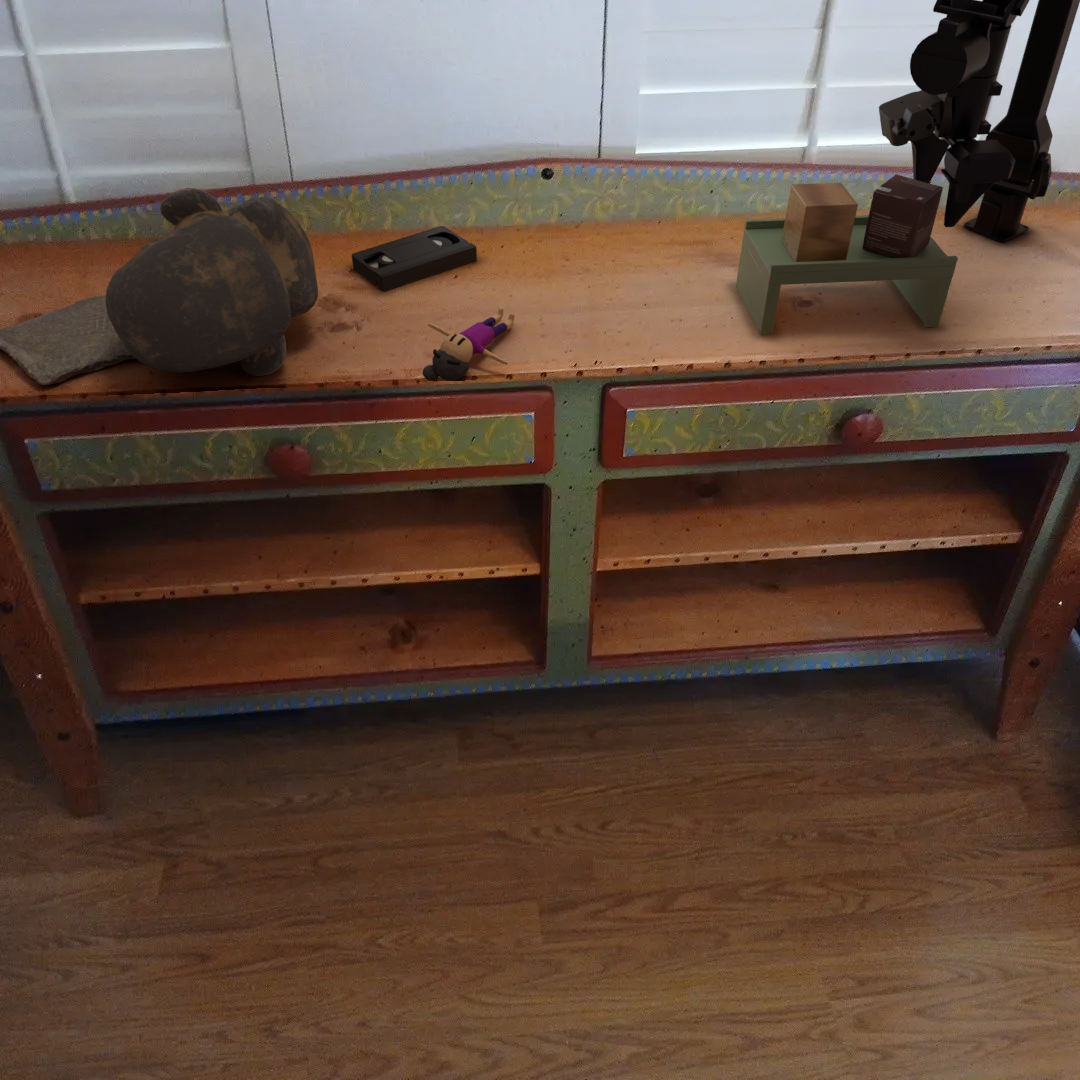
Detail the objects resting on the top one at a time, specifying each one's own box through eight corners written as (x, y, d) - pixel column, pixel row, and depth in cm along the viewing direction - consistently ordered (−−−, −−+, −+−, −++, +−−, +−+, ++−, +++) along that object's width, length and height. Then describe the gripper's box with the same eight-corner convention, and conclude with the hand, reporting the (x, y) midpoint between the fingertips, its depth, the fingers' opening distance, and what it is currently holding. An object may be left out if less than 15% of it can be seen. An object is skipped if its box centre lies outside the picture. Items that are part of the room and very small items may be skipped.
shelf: (902, 279, 138) (919, 213, 132) (938, 326, 129) (958, 257, 123) (735, 286, 136) (745, 219, 130) (760, 335, 127) (771, 265, 121)
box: (929, 246, 127) (945, 186, 122) (908, 264, 123) (924, 203, 118) (881, 231, 130) (895, 172, 125) (859, 249, 126) (873, 189, 121)
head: (250, 151, 125) (49, 239, 117) (310, 136, 106) (76, 240, 98) (328, 314, 135) (146, 407, 126) (395, 327, 116) (187, 437, 108)
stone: (173, 330, 121) (51, 384, 113) (178, 352, 123) (58, 406, 115) (93, 278, 129) (-27, 325, 121) (99, 299, 131) (-19, 346, 123)
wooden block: (829, 239, 128) (841, 182, 124) (845, 262, 124) (858, 204, 119) (781, 240, 128) (791, 184, 123) (795, 264, 123) (806, 206, 118)
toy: (547, 324, 125) (488, 365, 113) (535, 364, 128) (476, 409, 116) (472, 287, 127) (406, 324, 115) (461, 327, 130) (396, 367, 118)
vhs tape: (443, 238, 145) (442, 225, 143) (476, 260, 140) (476, 246, 139) (351, 268, 138) (350, 253, 137) (383, 291, 133) (382, 277, 132)
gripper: (867, 43, 120) (840, 178, 130) (930, 102, 106) (894, 248, 116) (963, 41, 121) (928, 175, 131) (1037, 99, 107) (992, 244, 117)
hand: (933, 209), depth 124 cm, fingers open, 9 cm apart
